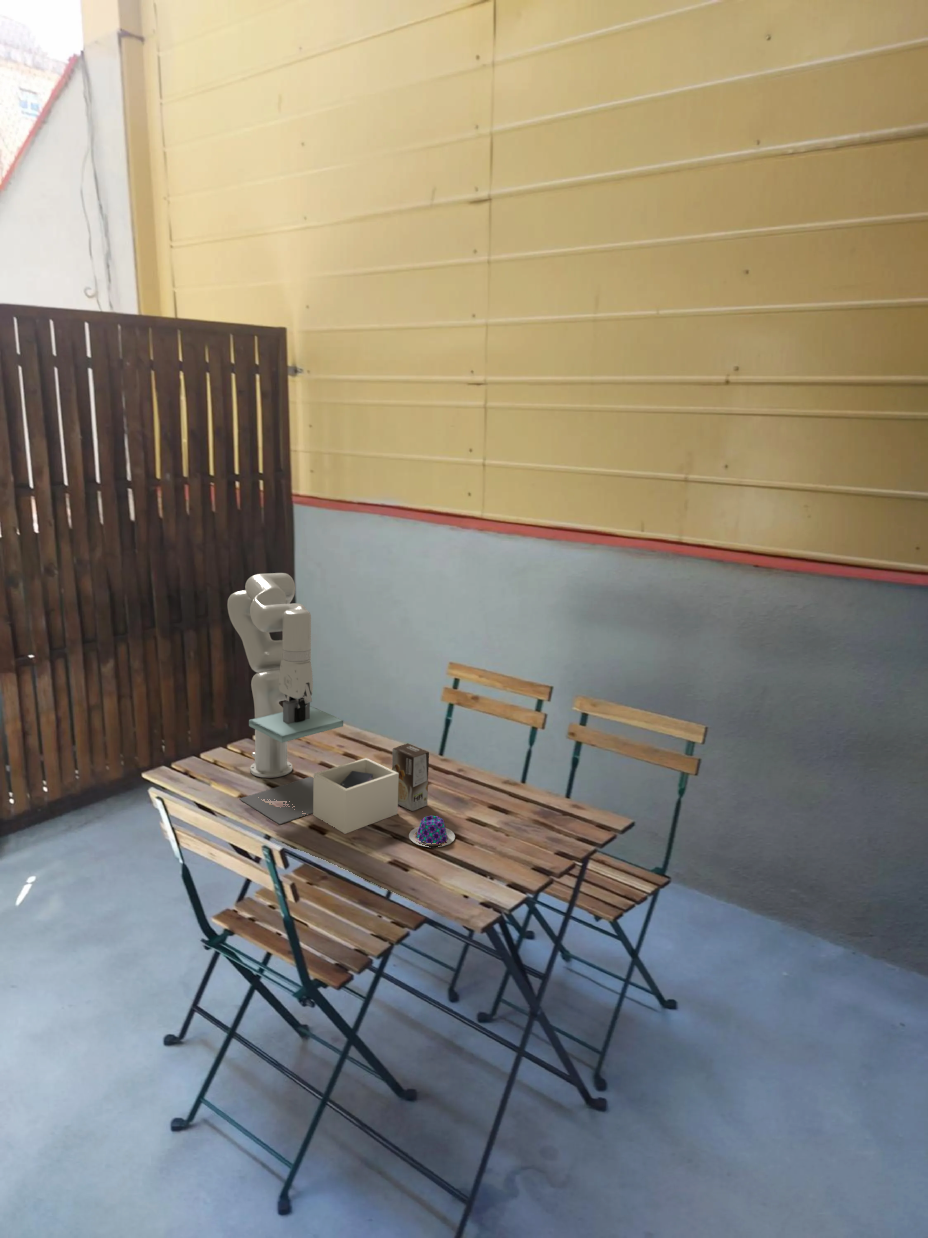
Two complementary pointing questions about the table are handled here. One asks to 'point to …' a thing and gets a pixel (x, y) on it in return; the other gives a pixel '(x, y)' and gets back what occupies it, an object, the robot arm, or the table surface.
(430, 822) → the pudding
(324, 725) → the lid
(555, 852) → the table surface
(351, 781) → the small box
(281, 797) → the mat
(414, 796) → the coffee box
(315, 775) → the box
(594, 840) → the table surface
